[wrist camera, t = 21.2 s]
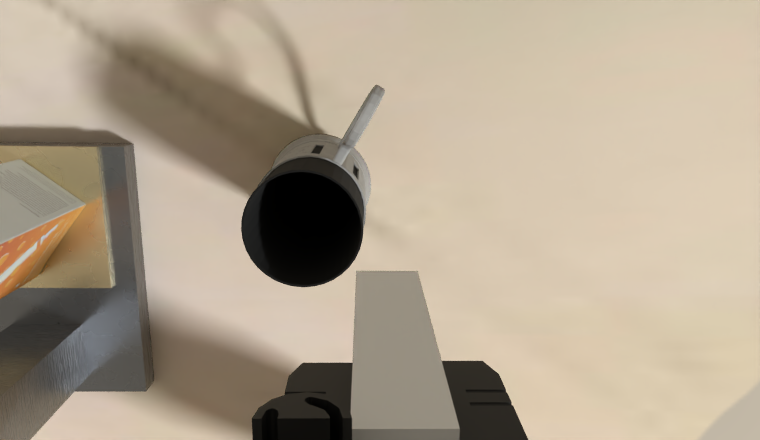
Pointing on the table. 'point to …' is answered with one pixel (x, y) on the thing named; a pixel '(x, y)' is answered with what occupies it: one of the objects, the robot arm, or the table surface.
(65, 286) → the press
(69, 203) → the small box
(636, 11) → the table surface
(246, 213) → the glass holder
